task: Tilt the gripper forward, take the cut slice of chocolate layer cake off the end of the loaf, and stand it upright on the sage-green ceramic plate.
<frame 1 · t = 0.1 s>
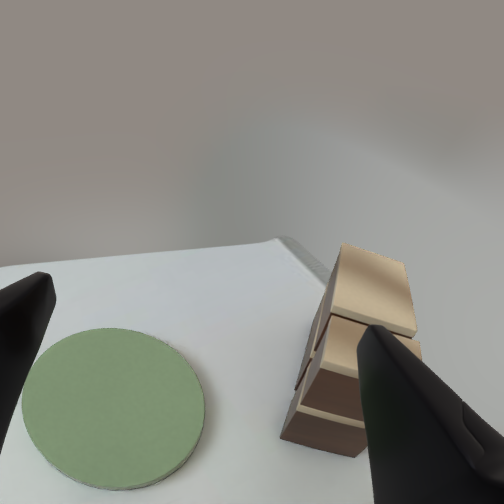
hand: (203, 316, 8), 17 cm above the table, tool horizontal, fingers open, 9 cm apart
plate: (110, 403, 20), on the table
cake loaf: (335, 361, 29), on the table
cake slice: (322, 429, 22), on the table
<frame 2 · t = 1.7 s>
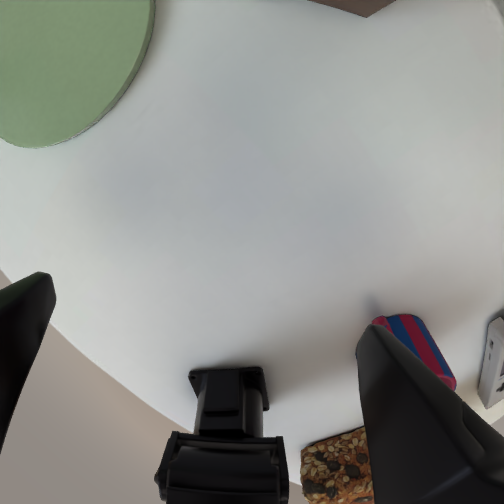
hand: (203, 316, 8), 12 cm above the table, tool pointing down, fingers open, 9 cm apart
plate: (50, 39, 13), on the table
bread: (374, 435, 33), on the table
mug: (387, 330, 24), on the table
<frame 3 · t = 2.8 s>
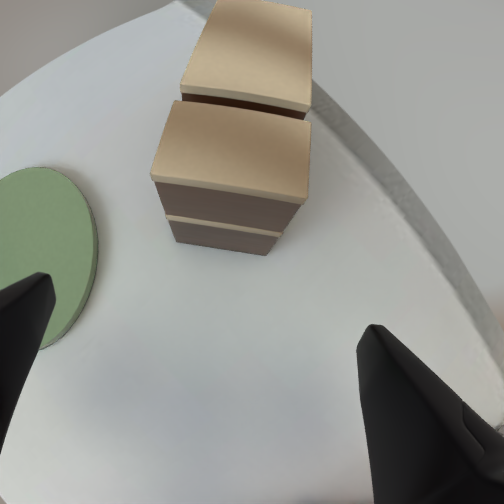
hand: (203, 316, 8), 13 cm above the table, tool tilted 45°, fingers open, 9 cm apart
plate: (18, 257, 20), on the table
cake loaf: (241, 131, 25), on the table
cake slice: (225, 222, 22), on the table
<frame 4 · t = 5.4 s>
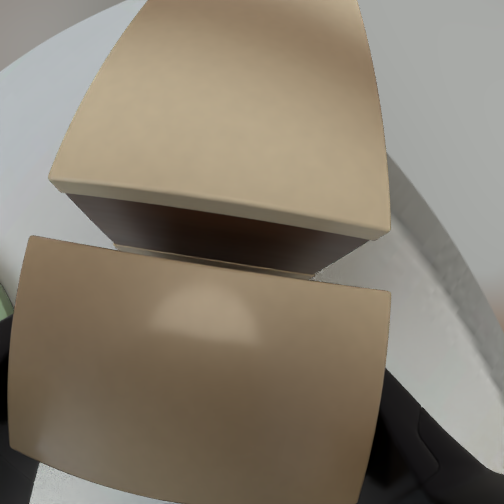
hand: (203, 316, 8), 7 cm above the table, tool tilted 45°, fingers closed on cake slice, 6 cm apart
cake loaf: (228, 189, 16), on the table
cake slice: (203, 351, 14), on the table, touching gripper
when the fingers open (8 cm above the table, at t = 13.1 s): cake slice stays where it is, resting on plate.
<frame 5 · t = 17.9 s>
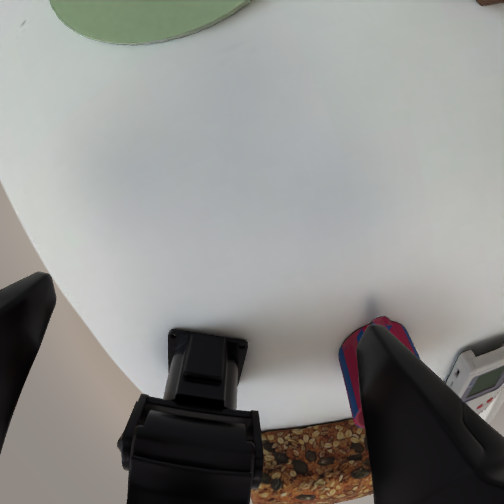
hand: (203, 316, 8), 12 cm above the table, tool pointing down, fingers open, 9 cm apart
bread: (321, 436, 35), on the table
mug: (374, 333, 25), on the table
handheld gaming device: (467, 376, 30), on the table
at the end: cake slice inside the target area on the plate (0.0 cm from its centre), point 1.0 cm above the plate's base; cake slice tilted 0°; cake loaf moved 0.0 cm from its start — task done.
